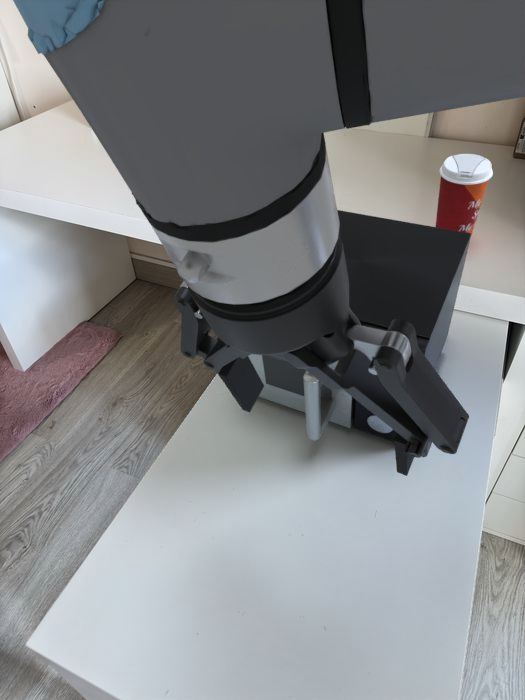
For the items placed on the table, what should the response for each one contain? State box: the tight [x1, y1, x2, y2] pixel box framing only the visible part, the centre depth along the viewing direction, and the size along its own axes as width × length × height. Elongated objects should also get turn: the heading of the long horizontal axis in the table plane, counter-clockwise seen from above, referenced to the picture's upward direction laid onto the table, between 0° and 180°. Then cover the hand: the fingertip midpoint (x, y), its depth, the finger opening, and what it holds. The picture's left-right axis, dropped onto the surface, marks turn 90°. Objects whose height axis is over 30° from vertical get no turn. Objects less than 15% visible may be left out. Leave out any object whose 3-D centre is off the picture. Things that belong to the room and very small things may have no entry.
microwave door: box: [248, 354, 355, 441], centre depth 61 cm, size 7×15×18 cm, turn 63°
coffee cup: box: [435, 153, 494, 236], centre depth 87 cm, size 8×8×15 cm
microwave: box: [337, 209, 472, 442], centre depth 67 cm, size 22×22×18 cm
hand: (325, 425), depth 40 cm, fingers open, 13 cm apart
